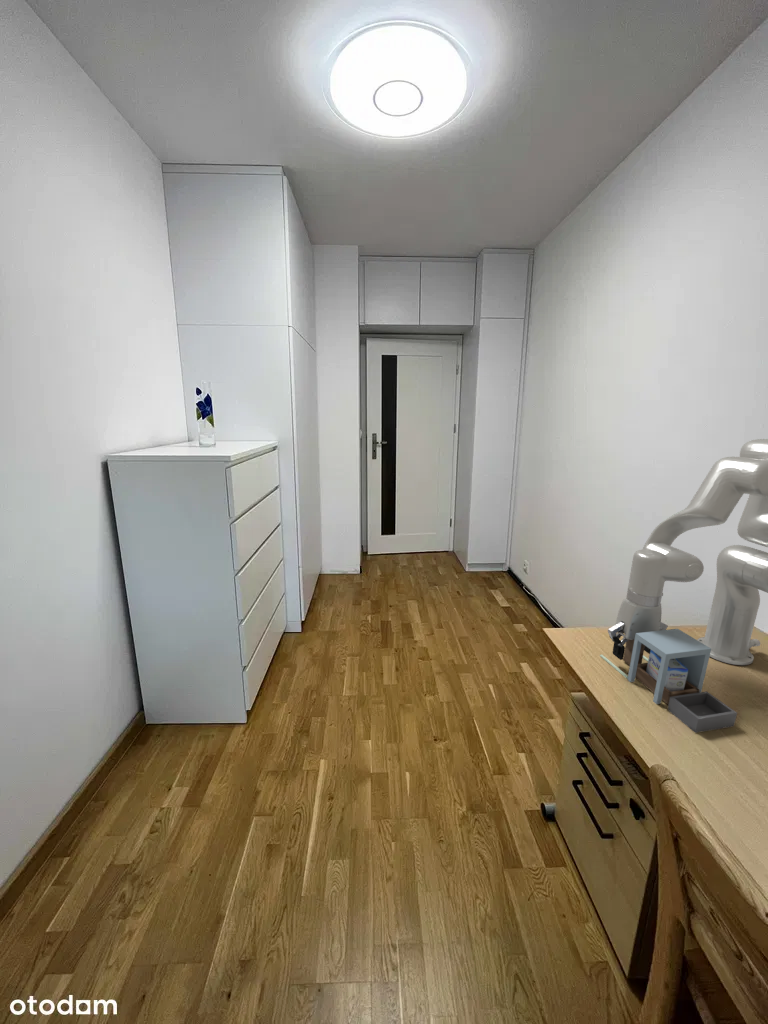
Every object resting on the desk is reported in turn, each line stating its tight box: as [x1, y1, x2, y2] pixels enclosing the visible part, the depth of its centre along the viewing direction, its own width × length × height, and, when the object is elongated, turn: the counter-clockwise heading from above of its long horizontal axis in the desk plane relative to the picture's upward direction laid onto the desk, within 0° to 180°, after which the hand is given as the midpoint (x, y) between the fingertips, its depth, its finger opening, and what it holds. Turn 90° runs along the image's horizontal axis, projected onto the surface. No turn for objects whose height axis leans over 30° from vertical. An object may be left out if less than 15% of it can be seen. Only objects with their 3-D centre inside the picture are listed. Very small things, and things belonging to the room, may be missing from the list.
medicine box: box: [646, 650, 688, 692], centre depth 100 cm, size 8×4×9 cm, turn 178°
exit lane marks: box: [599, 654, 649, 679], centre depth 110 cm, size 12×10×1 cm
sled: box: [622, 639, 700, 705], centre depth 102 cm, size 8×17×8 cm, turn 11°
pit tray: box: [667, 690, 738, 734], centre depth 91 cm, size 10×7×4 cm
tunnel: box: [627, 628, 711, 705], centre depth 99 cm, size 12×9×13 cm
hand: (633, 654), depth 110 cm, fingers open, 9 cm apart
